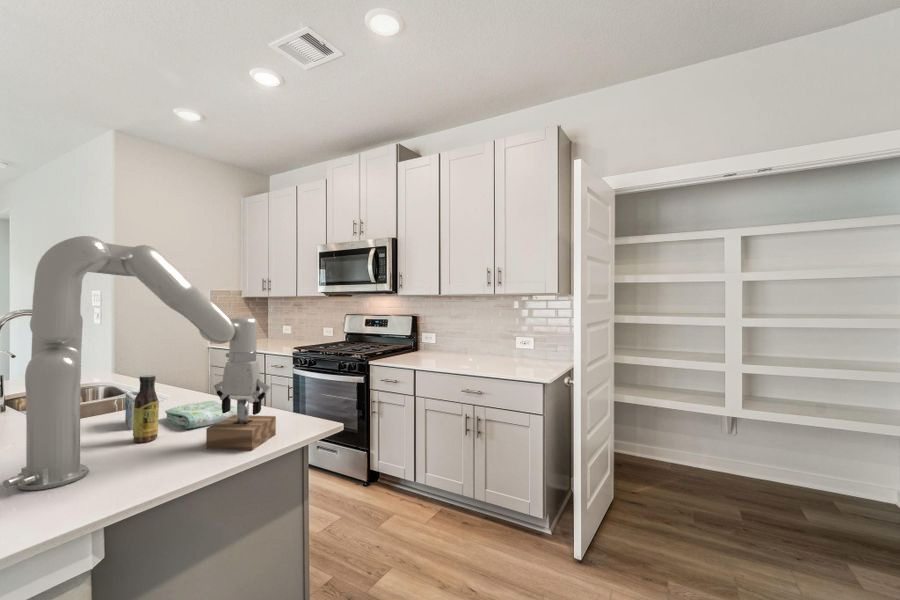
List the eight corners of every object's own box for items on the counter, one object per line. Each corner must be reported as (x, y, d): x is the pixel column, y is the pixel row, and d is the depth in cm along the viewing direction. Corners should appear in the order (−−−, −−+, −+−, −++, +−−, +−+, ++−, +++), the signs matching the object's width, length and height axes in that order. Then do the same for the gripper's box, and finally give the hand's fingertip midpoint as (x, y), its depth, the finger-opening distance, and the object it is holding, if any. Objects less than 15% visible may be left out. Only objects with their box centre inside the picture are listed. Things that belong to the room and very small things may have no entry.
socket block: (252, 450, 122) (252, 430, 122) (206, 448, 123) (206, 428, 123) (275, 434, 136) (275, 416, 136) (234, 433, 137) (234, 414, 137)
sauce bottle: (144, 444, 126) (145, 378, 126) (127, 442, 127) (127, 377, 127) (163, 437, 132) (164, 374, 132) (147, 435, 133) (147, 373, 133)
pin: (244, 440, 128) (245, 400, 128) (234, 439, 128) (235, 400, 128) (250, 436, 131) (250, 398, 131) (240, 436, 131) (241, 397, 131)
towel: (215, 410, 165) (215, 397, 165) (242, 420, 152) (242, 406, 152) (162, 420, 151) (162, 406, 150) (187, 433, 138) (187, 417, 138)
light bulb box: (124, 423, 146) (124, 392, 146) (148, 419, 151) (148, 389, 151) (131, 430, 138) (131, 398, 138) (155, 426, 143) (155, 394, 143)
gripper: (208, 358, 126) (206, 414, 126) (263, 360, 125) (262, 417, 125) (223, 354, 133) (221, 408, 133) (275, 356, 132) (274, 411, 132)
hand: (241, 412), depth 129 cm, fingers open, 9 cm apart
